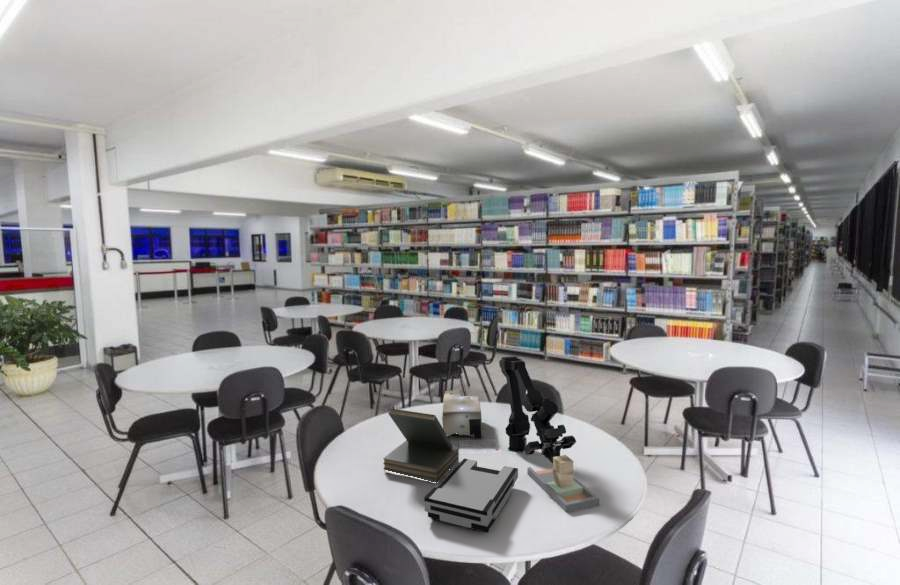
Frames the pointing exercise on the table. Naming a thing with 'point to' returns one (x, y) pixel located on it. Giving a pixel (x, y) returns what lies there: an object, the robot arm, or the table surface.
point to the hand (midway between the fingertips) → (558, 468)
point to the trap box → (564, 491)
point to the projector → (462, 414)
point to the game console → (471, 495)
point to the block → (563, 471)
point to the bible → (421, 447)
